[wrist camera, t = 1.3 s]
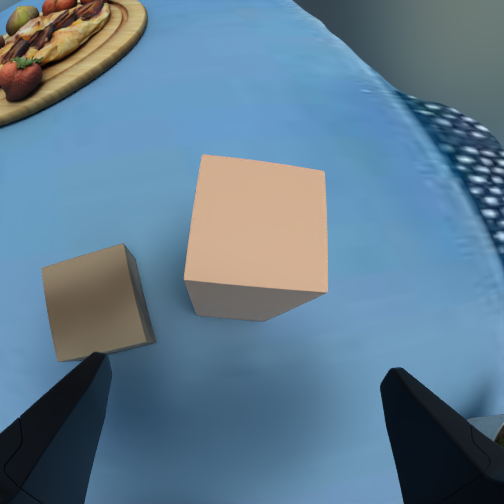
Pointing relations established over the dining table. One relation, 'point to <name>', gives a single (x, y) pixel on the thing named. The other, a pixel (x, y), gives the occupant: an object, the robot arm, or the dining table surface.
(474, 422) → the house plant
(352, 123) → the dining table surface
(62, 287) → the walnut block
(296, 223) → the peach block
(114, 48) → the wooden plate with food
